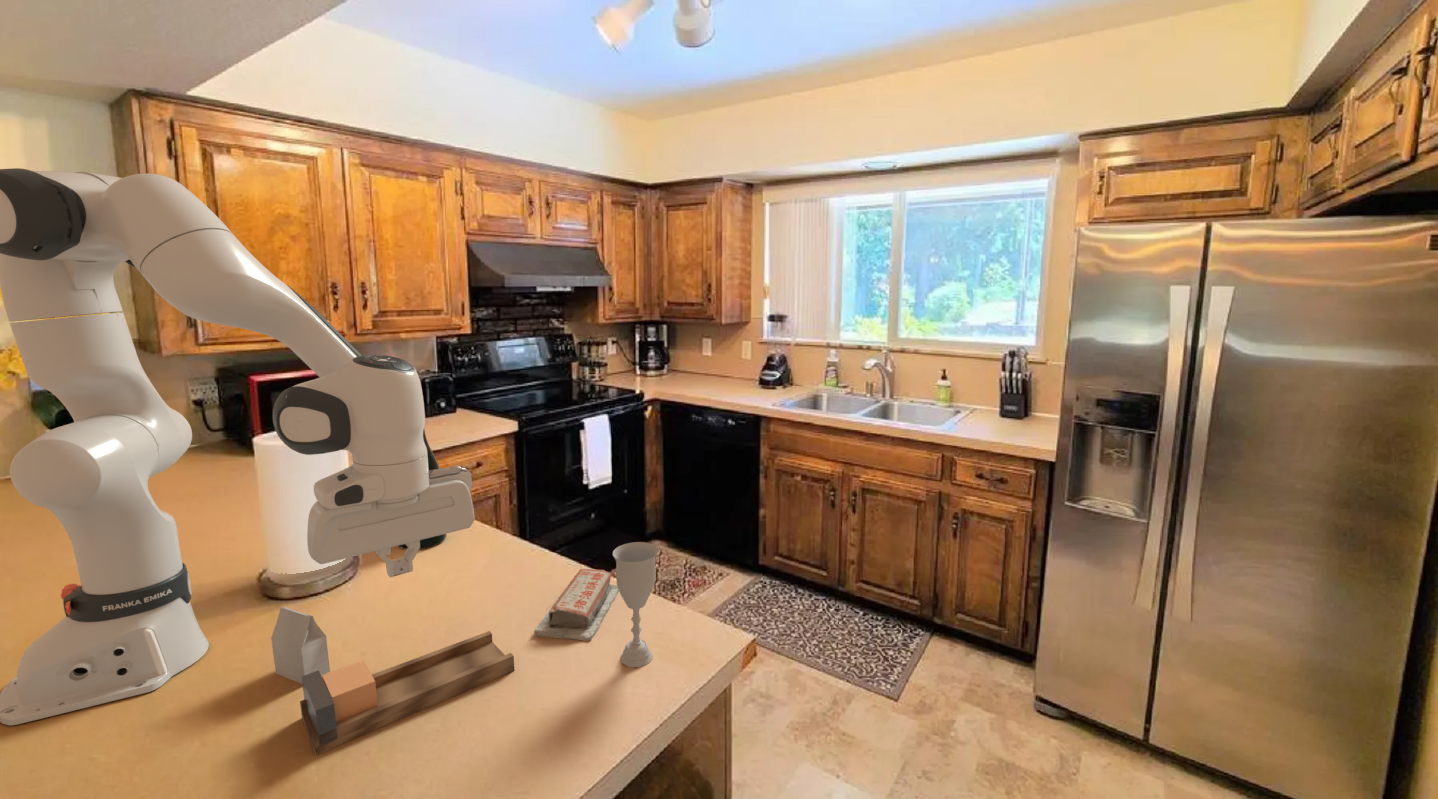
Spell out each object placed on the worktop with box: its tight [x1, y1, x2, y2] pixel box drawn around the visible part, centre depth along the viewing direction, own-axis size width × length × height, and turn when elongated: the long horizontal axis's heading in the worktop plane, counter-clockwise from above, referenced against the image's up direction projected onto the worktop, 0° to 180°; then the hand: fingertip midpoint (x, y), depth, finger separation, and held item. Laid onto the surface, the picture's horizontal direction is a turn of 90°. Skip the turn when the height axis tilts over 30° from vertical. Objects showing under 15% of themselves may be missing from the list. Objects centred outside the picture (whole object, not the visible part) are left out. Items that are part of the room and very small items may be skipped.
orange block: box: [322, 660, 378, 723], centre depth 84 cm, size 5×6×5 cm
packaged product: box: [534, 568, 620, 642], centre depth 112 cm, size 18×5×10 cm
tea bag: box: [271, 605, 331, 685], centre depth 93 cm, size 4×7×10 cm, turn 67°
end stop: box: [301, 671, 338, 746], centre depth 81 cm, size 2×9×5 cm, turn 43°
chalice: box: [612, 541, 659, 668], centre depth 97 cm, size 7×7×18 cm
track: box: [299, 630, 515, 755], centre depth 89 cm, size 26×9×2 cm, turn 133°
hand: (400, 573), depth 86 cm, fingers closed
